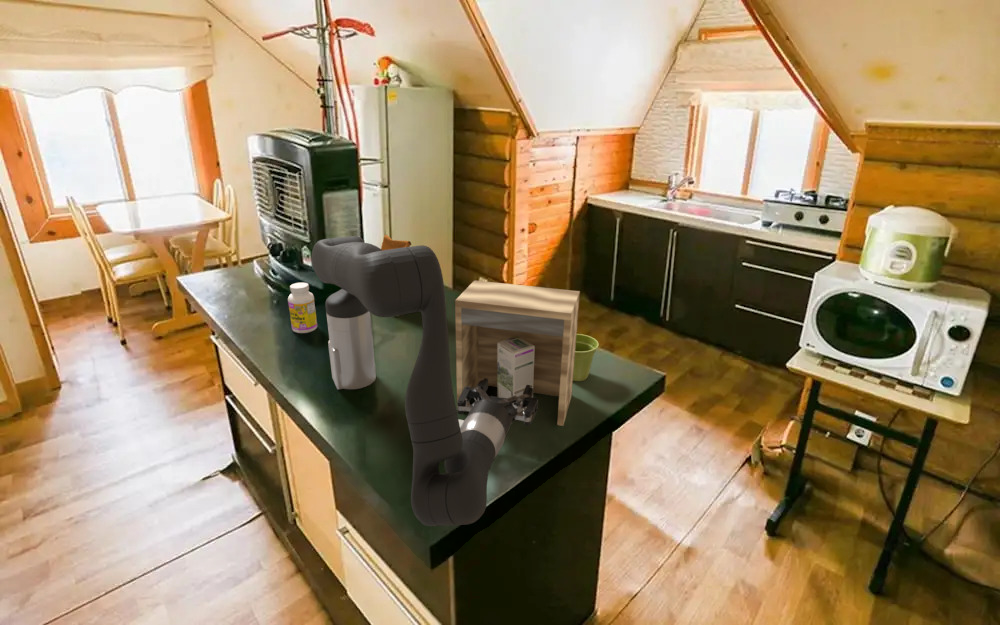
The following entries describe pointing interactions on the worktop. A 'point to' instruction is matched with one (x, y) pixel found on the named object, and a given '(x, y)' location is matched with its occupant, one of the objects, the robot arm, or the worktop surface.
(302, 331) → the supplement bottle
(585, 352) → the plant pot
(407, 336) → the worktop surface
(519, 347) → the syrup box
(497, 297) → the hutch
